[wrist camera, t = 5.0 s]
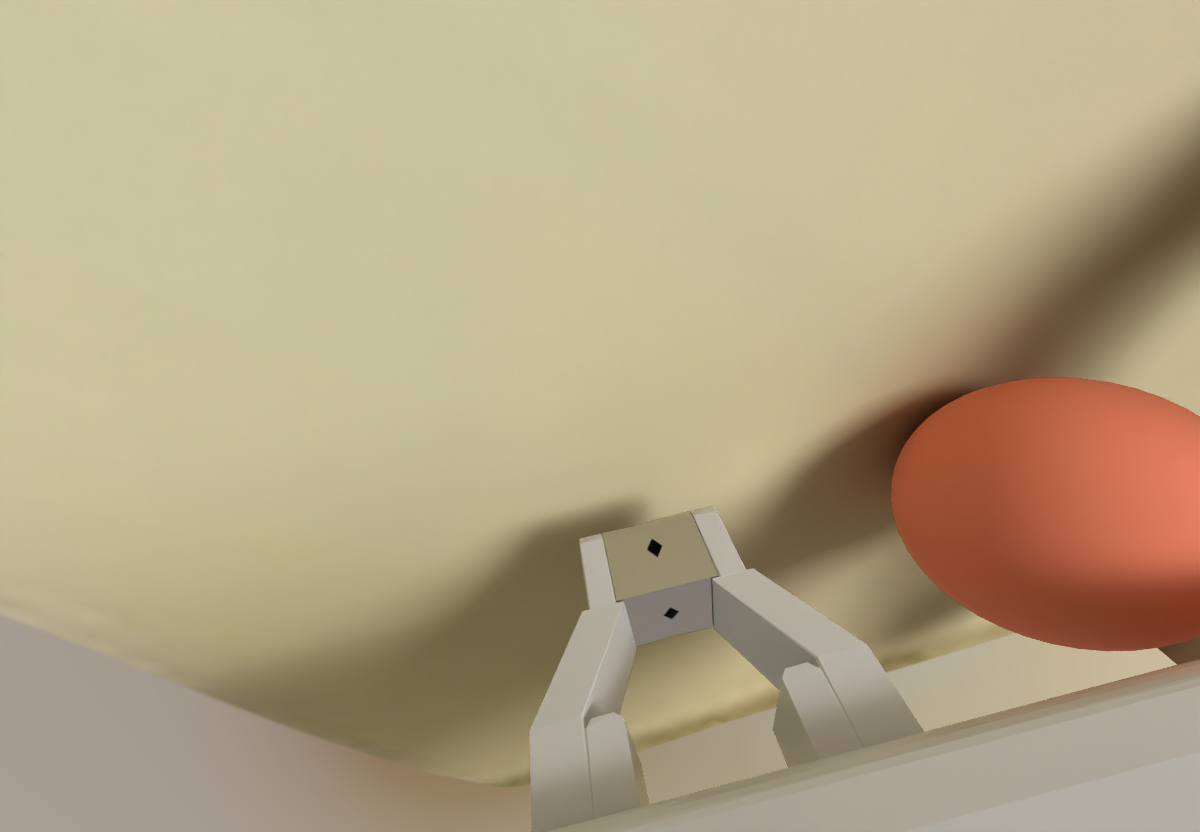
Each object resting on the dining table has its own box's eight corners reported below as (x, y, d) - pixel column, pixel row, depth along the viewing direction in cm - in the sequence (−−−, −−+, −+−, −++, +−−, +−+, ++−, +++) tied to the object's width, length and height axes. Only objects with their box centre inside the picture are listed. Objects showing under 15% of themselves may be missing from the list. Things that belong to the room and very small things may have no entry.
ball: (1421, 416, 7) (1011, 318, 11) (1379, 572, 5) (881, 377, 9) (1187, 618, 10) (931, 483, 14) (1091, 772, 8) (818, 559, 12)
